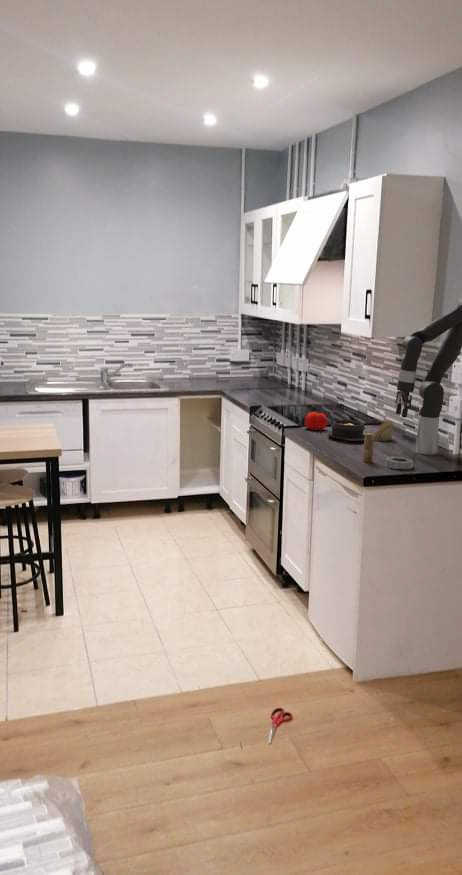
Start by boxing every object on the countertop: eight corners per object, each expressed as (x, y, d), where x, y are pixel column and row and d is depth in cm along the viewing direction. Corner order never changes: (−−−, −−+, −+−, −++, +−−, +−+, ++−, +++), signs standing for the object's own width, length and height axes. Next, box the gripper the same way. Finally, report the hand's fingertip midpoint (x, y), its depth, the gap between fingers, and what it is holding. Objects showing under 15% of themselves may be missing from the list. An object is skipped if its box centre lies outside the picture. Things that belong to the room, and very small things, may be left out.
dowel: (370, 460, 327) (372, 433, 324) (373, 462, 323) (375, 435, 321) (361, 460, 326) (363, 433, 324) (364, 462, 323) (366, 434, 320)
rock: (376, 437, 365) (396, 435, 366) (372, 422, 369) (392, 420, 369) (372, 446, 375) (391, 444, 376) (368, 431, 379) (388, 429, 379)
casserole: (376, 444, 362) (377, 427, 360) (341, 445, 356) (342, 427, 355) (352, 433, 385) (353, 417, 384) (319, 434, 379) (320, 418, 378)
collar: (406, 463, 323) (407, 457, 322) (415, 470, 312) (416, 463, 312) (382, 463, 322) (382, 456, 321) (390, 469, 311) (390, 462, 311)
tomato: (328, 432, 387) (329, 414, 385) (305, 431, 387) (306, 413, 385) (325, 428, 397) (326, 411, 395) (303, 427, 397) (304, 410, 395)
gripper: (420, 383, 332) (414, 419, 335) (409, 379, 346) (403, 413, 349) (403, 381, 331) (398, 417, 334) (393, 377, 345) (388, 412, 348)
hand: (401, 415), depth 342 cm, fingers open, 8 cm apart
